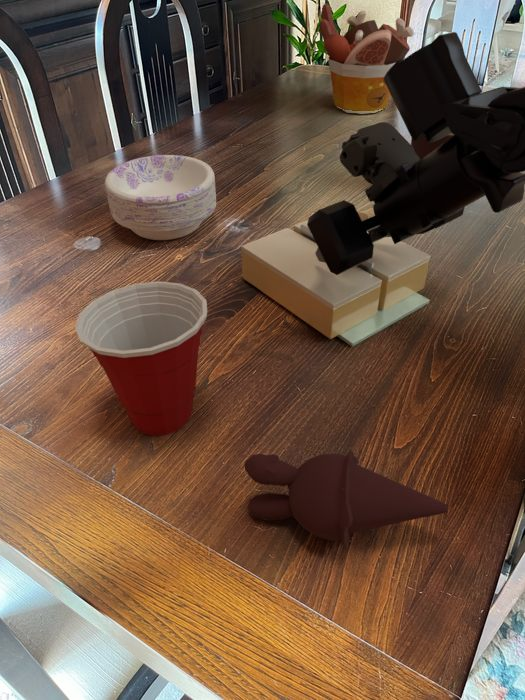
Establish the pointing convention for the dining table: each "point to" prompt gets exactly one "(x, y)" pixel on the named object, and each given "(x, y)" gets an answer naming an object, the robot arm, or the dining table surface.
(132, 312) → the plastic cup
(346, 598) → the dining table surface
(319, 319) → the slotted wooden block
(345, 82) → the bucket of meat
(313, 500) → the icecream
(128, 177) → the paper bowls
